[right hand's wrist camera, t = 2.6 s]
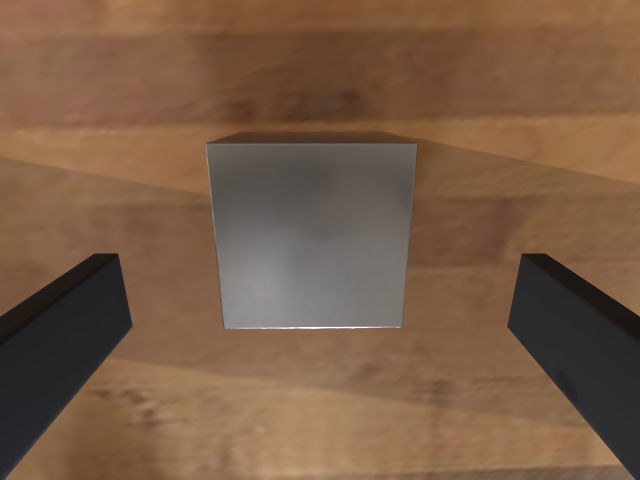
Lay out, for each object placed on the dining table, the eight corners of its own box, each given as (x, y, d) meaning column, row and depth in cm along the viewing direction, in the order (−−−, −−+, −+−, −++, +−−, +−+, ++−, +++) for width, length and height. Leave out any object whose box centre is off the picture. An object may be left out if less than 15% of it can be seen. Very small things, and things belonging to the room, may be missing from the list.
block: (385, 131, 24) (418, 143, 16) (377, 265, 27) (402, 327, 19) (240, 131, 24) (204, 143, 16) (249, 266, 27) (223, 329, 19)
